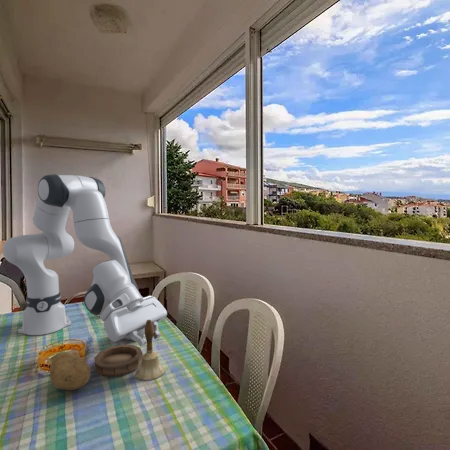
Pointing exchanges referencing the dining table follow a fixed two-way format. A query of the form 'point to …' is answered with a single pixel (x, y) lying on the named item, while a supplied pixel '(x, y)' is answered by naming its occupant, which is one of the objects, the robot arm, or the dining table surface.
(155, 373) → the hand bell
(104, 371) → the tray
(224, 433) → the dining table surface
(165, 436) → the dining table surface
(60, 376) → the potato
